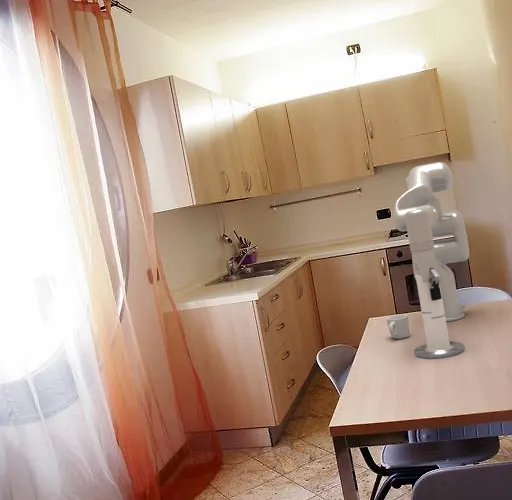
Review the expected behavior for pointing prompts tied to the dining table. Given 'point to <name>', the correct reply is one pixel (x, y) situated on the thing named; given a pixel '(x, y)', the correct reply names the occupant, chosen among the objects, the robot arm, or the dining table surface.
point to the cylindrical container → (433, 317)
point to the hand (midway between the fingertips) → (430, 297)
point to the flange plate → (428, 354)
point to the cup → (398, 326)
